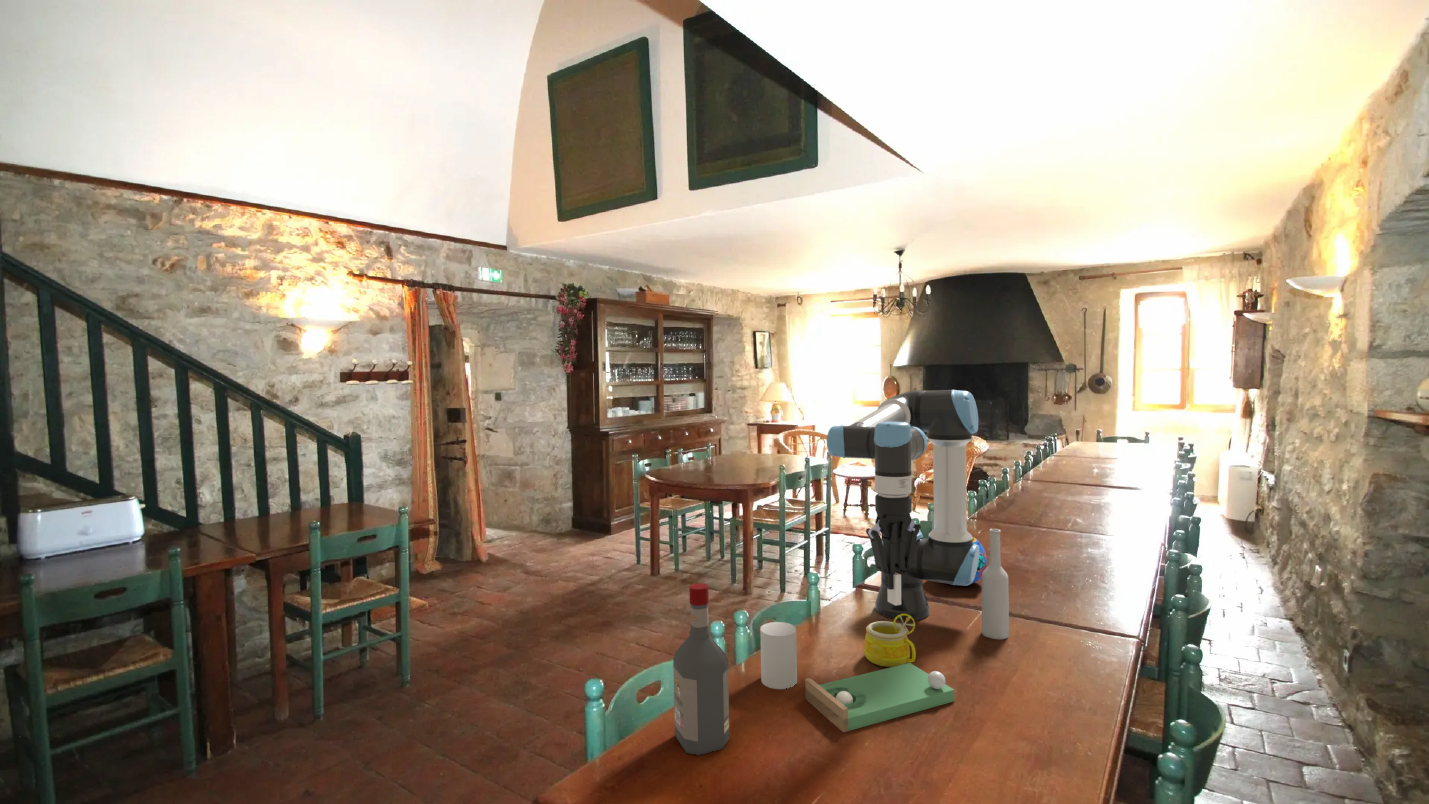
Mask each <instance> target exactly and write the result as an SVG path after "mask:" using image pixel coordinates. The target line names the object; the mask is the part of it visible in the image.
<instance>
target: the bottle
mask: <svg viewBox="0 0 1429 804" xmlns="http://www.w3.org/2000/svg"><path fill="white" fill-rule="evenodd" d="M1001 532H1002V531H1001V529H998V528H990V529H989V533H990V534H989V561H988V563H989V564H988V565H987V566H986V569H985V570H984V571H983V573H982V577H981V634H982V635H983V637H986V638H989V639H993V640H1006V639H1008V638H1009V637H1010V620H1009V619H1010V617H1009V613H1010V612H1009V611H1010V609H1009V607H1010V606H1009V603H1010V602H1009V601H1010V600H1009V597H1010V596H1009V593H1010V592H1009V574H1008V573H1007V571H1005V569H1004V568H1003V566H1002V562H1001V561H1002V559H1001Z"/></svg>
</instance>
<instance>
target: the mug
mask: <svg viewBox="0 0 1429 804" xmlns="http://www.w3.org/2000/svg"><path fill="white" fill-rule="evenodd" d="M903 615H906V616H908V617H907V618H906V620H902V617H901V616H903ZM898 617H900V619H901V620H900V621H901V622H896V621H897V618H898ZM910 618H911V619H912V620H911V621H912V622H913V623H907V622H909V621H910V620H909V619H910ZM904 621H905V622H904ZM906 626H909V627H912V628H911V630H910V631H909V629H908V628H907V627H906ZM915 628H916V622H915V620H914V619H913V618H912V617H911V616H910V615H908V614H900V615H898V616H897V617H896V618H895V619H893V621H887V620H886V621H885V620H884V621H882V620H881V621H880V620H879V621H874V622H871V623H869V624H868V625H867V626H866V628H865V630H866V631H865V632H866V633H865V637H864V645H863V651H864V656H865V658H866V659H867V660H868V661H869V662H870V663H872V664H874V665H877V666H880V667H886V668H891V667H895V666H899V665H903V664H907V663H911V664H912V663H913V662H915V661H916V655H917V653H916V646H915V644H914V643H913V642H912V641H911V640H909V638H908V635H911V633H913V632H914V630H915ZM910 650H911V651H910ZM911 654H912V655H911ZM910 657H911V658H910Z"/></svg>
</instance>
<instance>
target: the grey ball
mask: <svg viewBox="0 0 1429 804" xmlns="http://www.w3.org/2000/svg"><path fill="white" fill-rule="evenodd" d="M928 674H929V675H928V683H929V685H930V686H931V687H932V688H934V689H942V688H943V687H944V685H945V684H946V677H945V676H944V674H943V673H942V672H940V671H937V670H933V671H931V672H930V673H928Z"/></svg>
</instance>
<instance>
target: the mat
mask: <svg viewBox="0 0 1429 804" xmlns="http://www.w3.org/2000/svg"><path fill="white" fill-rule="evenodd" d="M929 674H930V673H927V672H926V671H925V670H922V669H921V668H919V666H918V667H917V666H916V665H914V664H913V663H912V662H911V663H906V664H903V665H899V666H895V667H886V668H884V669H879V670H875V671H871V672H867V673H862V674H858V675H854V676H850V677H846V678H841V679H837V680H833V681H829V682H825V683H821V684H819V683H818V682H817V681H815V680H813V679H812V677H809V678H805V686H804V687H805V700H806V699H807V700H806V701H807V702H808V703H809V702H810V703H809V704H810V705H811V704H812V707H813V708H815V709H816V710H817V711H818V712H819V713H820V714H822V716H823V717H825V718H826V719H827V720H829V722H830V723H832V724H833V725H834V726H836V728H837V729H838V730H840V731H841V732H842V733H847V732H850V731H853V730H857V729H860V728H863V727H867V726H871V725H875V724H878V723H882V722H886V721H889V720H892V719H896V718H900V717H903V716H907V715H910V714H914V713H917V712H921V711H922V712H923V711H924V710H928V709H931V708H932V709H933V708H935V707H940V706H942V705H945V704H950V703H952V702H955V689H954V688H953V687H951V686H949V685H948V684H946V683H945V685H944V687H943V688H942V689H934V688H932V687H931V686H930V685H929V683H928V675H929ZM841 691H846V692H848V693H850V694H851V696H852V698H853V703H851V704H842V703H841V702H840V701H838V700H837V699H836V696H837V694H838V693H839V692H841Z"/></svg>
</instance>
